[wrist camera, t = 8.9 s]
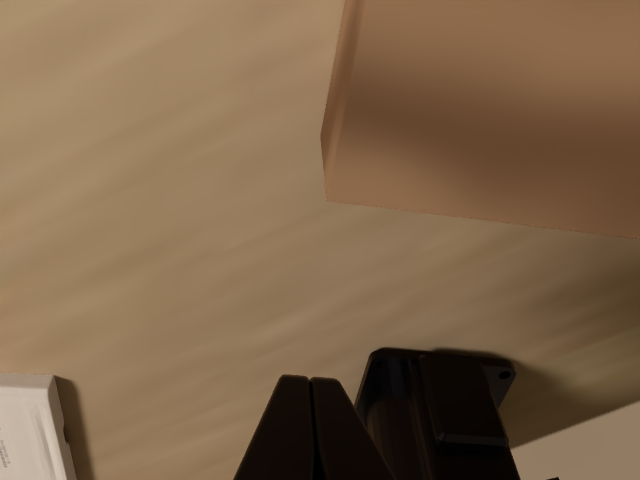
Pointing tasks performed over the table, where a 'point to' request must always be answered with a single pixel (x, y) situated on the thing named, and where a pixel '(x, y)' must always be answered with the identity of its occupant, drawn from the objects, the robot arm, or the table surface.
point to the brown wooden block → (489, 111)
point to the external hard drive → (32, 429)
